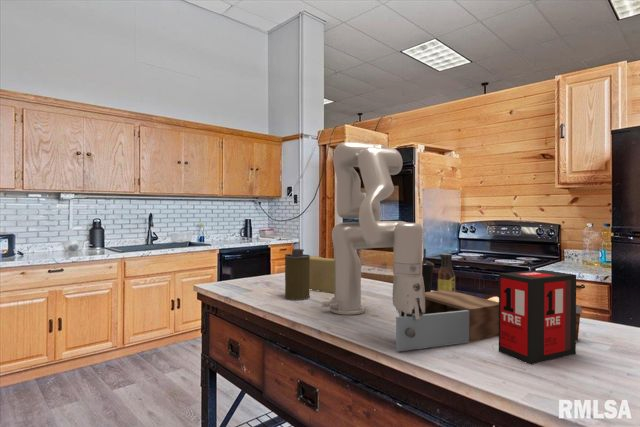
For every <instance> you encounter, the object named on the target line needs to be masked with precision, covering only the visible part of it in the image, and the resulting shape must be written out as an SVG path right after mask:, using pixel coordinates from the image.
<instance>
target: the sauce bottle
mask: <svg viewBox="0 0 640 427" xmlns="http://www.w3.org/2000/svg"><path fill="white" fill-rule="evenodd" d="M452 258H453V254H452V253H440V265H441V266H440V268H438V271H437V291H440V290H450V291H454V292H456V274H455V272H454V269H453V266H452V264H453V263H452Z"/></svg>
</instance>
